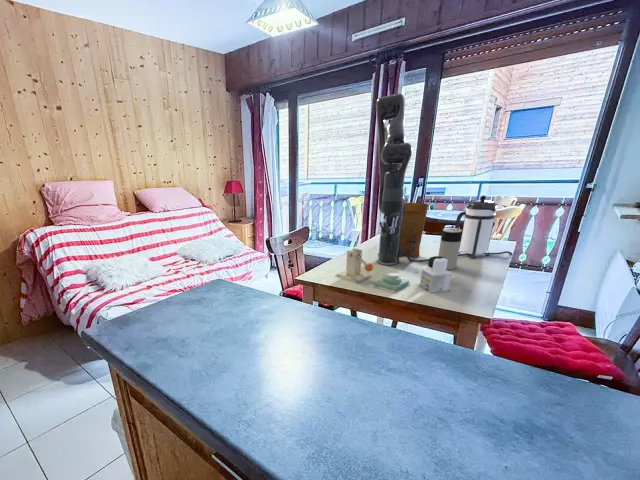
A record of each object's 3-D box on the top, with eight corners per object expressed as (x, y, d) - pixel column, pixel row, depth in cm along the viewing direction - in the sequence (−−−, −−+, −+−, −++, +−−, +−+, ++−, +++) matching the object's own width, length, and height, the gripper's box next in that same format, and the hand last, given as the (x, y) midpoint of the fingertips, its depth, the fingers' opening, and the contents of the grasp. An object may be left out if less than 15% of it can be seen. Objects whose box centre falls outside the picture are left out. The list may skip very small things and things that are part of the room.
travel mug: (458, 269, 151) (465, 231, 144) (439, 269, 152) (445, 231, 145) (452, 264, 158) (458, 227, 151) (434, 264, 159) (440, 227, 153)
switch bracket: (370, 277, 149) (372, 250, 144) (358, 282, 144) (360, 254, 139) (348, 271, 157) (349, 245, 153) (336, 276, 152) (337, 250, 148)
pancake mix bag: (418, 259, 168) (425, 204, 157) (383, 253, 181) (387, 202, 171) (423, 256, 172) (431, 202, 162) (389, 250, 185) (393, 200, 175)
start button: (390, 275, 139) (390, 272, 138) (399, 278, 136) (399, 274, 135) (385, 278, 137) (385, 274, 136) (394, 280, 134) (394, 276, 133)
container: (419, 285, 137) (423, 255, 132) (437, 283, 137) (441, 254, 132) (430, 292, 129) (434, 261, 125) (448, 290, 130) (454, 259, 125)
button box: (388, 280, 144) (389, 271, 143) (408, 285, 138) (409, 276, 136) (374, 287, 138) (375, 278, 136) (394, 292, 131) (395, 283, 130)
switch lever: (372, 271, 144) (376, 266, 141) (367, 274, 142) (371, 268, 139) (352, 254, 149) (356, 248, 147) (347, 255, 147) (351, 250, 145)
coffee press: (489, 251, 172) (501, 193, 161) (489, 260, 160) (503, 197, 149) (451, 248, 181) (460, 193, 170) (449, 256, 169) (459, 197, 158)
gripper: (392, 196, 133) (388, 237, 140) (374, 201, 126) (371, 244, 132) (410, 197, 128) (405, 240, 134) (392, 202, 120) (388, 247, 127)
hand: (388, 242), depth 133 cm, fingers closed
